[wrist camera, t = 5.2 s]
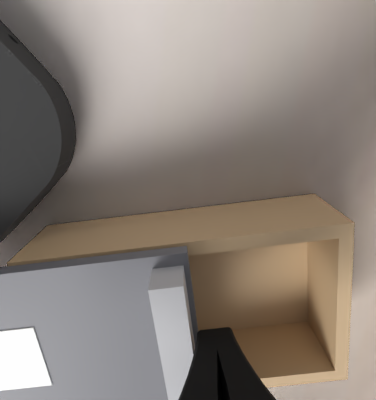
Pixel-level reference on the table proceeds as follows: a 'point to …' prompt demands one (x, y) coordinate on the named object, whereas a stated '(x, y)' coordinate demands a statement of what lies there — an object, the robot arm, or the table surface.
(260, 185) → the table surface
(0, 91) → the media streaming box
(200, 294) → the box
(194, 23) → the table surface
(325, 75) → the table surface
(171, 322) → the lid
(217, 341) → the robot arm
